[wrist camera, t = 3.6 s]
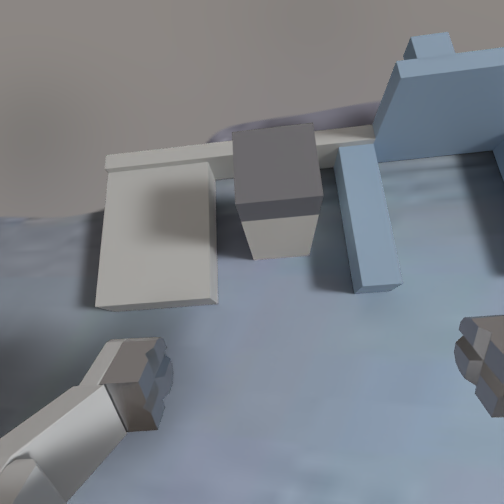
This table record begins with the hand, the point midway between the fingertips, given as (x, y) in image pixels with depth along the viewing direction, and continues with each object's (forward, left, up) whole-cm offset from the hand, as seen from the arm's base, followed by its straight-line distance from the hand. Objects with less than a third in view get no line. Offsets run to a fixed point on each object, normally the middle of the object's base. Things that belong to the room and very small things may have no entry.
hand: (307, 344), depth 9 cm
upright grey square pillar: (0, +8, -13) cm, 15 cm away
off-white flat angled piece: (-3, +9, -13) cm, 16 cm away
